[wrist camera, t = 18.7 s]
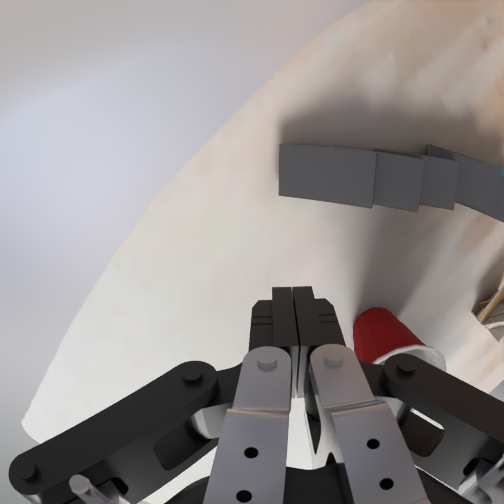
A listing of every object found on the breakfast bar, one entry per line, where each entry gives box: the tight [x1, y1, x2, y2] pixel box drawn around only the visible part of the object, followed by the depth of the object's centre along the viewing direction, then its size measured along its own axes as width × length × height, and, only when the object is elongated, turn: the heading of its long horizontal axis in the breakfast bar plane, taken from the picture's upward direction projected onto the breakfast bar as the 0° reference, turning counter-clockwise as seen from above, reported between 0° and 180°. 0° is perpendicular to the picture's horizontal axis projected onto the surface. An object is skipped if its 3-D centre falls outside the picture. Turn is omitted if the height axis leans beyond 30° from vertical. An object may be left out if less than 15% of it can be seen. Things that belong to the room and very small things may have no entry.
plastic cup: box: [353, 308, 446, 412], centre depth 32 cm, size 11×11×12 cm
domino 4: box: [426, 145, 502, 213], centre depth 27 cm, size 2×5×9 cm
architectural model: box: [471, 285, 504, 342], centre depth 33 cm, size 3×7×7 cm, turn 145°
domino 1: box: [279, 144, 378, 208], centre depth 28 cm, size 2×5×9 cm
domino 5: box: [455, 176, 504, 222], centre depth 27 cm, size 2×5×9 cm
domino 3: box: [374, 148, 459, 210], centre depth 27 cm, size 2×5×9 cm
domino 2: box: [334, 146, 424, 212], centre depth 27 cm, size 2×5×9 cm
